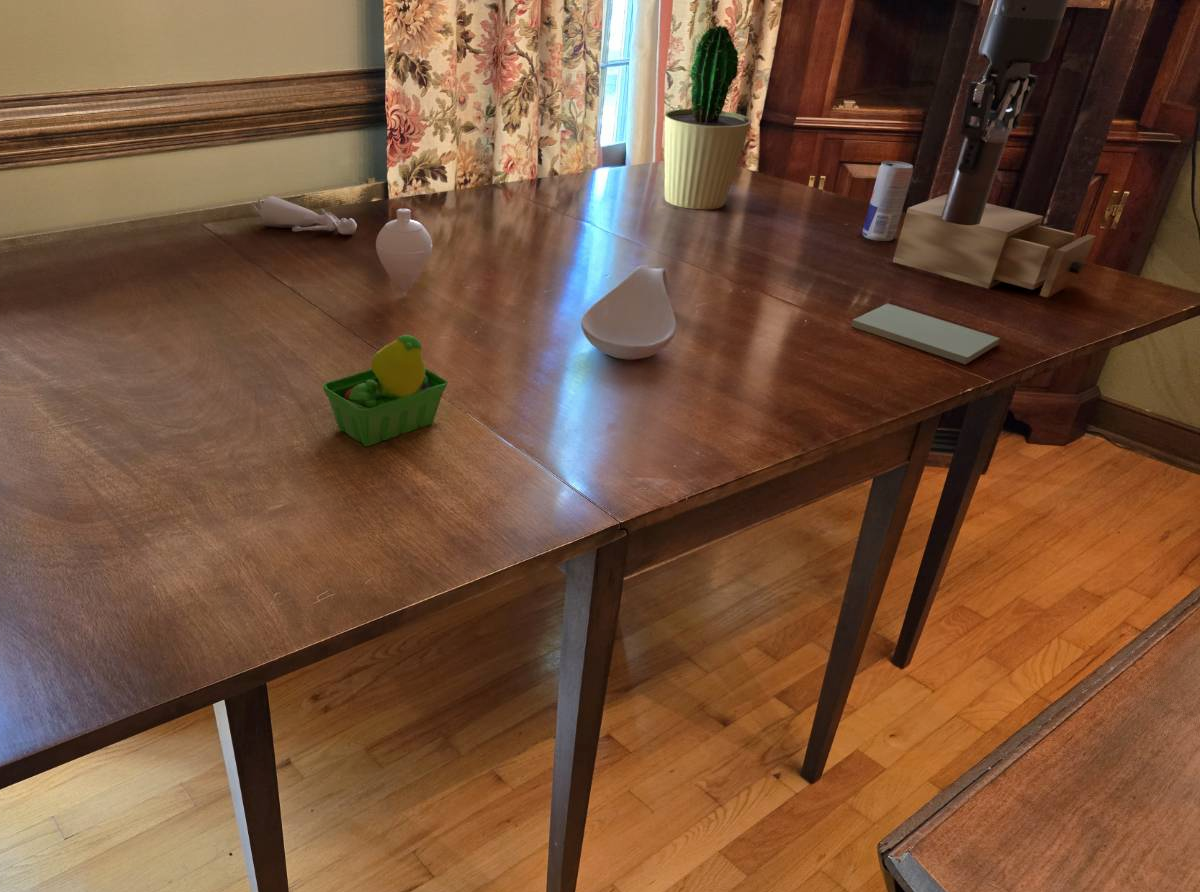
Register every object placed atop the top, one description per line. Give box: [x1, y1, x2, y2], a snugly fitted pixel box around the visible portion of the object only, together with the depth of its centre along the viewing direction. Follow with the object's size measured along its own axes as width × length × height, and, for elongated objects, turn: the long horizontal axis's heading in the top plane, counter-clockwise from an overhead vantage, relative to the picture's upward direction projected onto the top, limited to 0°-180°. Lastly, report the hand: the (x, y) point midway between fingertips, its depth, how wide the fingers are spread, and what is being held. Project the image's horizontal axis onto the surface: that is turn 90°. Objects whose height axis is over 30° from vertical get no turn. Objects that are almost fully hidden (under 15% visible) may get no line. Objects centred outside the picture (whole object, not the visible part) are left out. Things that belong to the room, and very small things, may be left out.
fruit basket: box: [322, 334, 448, 448], centre depth 99 cm, size 11×9×11 cm
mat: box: [850, 303, 1000, 365], centre depth 129 cm, size 16×10×1 cm, turn 43°
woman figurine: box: [250, 195, 358, 236], centre depth 157 cm, size 12×4×18 cm
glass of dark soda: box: [941, 122, 1011, 225], centre depth 118 cm, size 5×5×11 cm
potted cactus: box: [664, 21, 753, 210], centre depth 172 cm, size 15×15×30 cm
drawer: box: [994, 224, 1097, 299], centre depth 146 cm, size 16×12×7 cm
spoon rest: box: [580, 264, 677, 361], centre depth 124 cm, size 24×12×7 cm, turn 162°
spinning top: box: [375, 208, 433, 298], centre depth 131 cm, size 8×8×12 cm
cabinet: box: [892, 193, 1044, 290], centre depth 152 cm, size 16×14×9 cm
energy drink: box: [862, 160, 914, 242], centre depth 163 cm, size 5×5×12 cm
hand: (976, 169), depth 117 cm, fingers closed on glass of dark soda, 4 cm apart
